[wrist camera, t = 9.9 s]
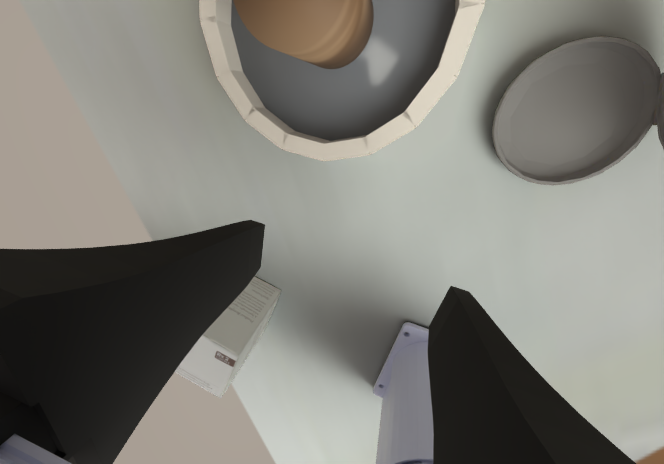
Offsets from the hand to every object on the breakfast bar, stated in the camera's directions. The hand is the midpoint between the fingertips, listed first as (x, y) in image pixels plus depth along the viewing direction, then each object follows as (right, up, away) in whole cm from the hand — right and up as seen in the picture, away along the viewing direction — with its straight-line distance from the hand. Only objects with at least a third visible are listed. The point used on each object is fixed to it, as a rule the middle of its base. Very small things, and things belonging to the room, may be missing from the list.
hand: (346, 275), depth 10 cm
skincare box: (-9, -4, +16) cm, 19 cm away
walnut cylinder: (-1, +13, +4) cm, 14 cm away
